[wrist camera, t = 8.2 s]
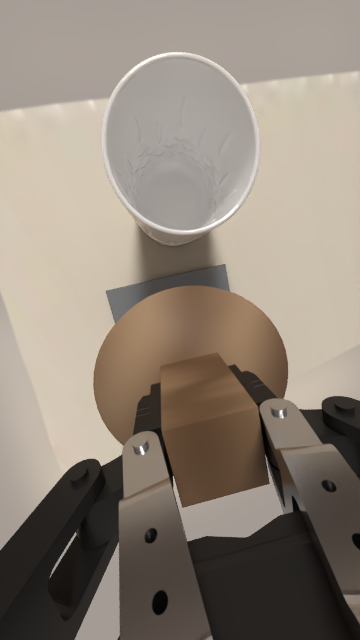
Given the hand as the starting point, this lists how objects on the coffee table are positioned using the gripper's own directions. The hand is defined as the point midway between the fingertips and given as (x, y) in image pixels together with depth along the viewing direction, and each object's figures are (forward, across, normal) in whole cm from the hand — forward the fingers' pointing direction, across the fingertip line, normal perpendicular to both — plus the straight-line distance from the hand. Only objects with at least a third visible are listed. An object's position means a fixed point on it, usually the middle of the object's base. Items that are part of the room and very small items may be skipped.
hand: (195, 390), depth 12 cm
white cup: (+12, -2, -12) cm, 17 cm away
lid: (+1, 0, 0) cm, 1 cm away
